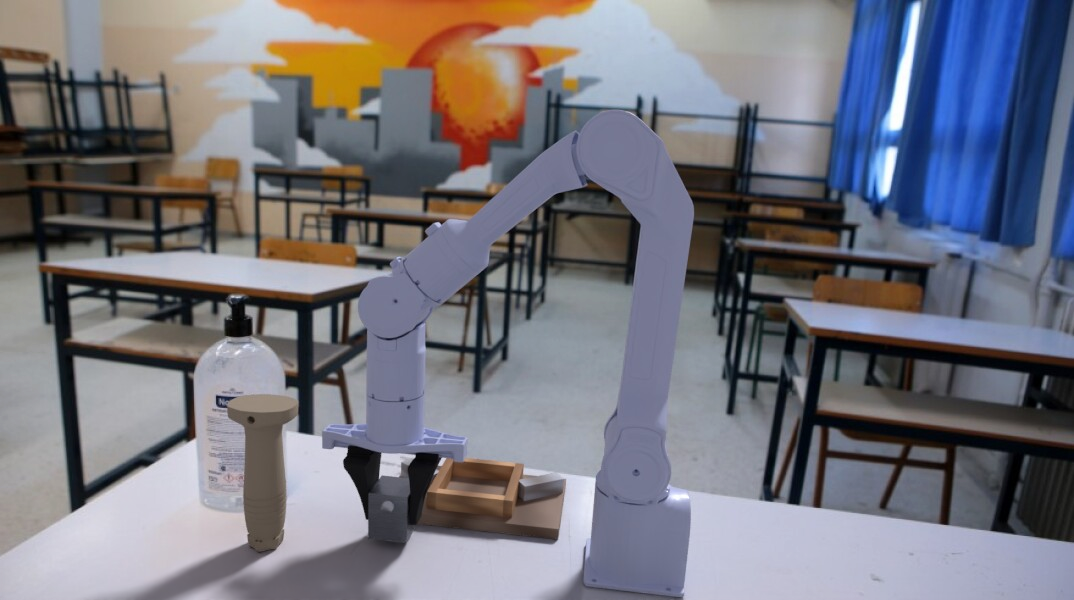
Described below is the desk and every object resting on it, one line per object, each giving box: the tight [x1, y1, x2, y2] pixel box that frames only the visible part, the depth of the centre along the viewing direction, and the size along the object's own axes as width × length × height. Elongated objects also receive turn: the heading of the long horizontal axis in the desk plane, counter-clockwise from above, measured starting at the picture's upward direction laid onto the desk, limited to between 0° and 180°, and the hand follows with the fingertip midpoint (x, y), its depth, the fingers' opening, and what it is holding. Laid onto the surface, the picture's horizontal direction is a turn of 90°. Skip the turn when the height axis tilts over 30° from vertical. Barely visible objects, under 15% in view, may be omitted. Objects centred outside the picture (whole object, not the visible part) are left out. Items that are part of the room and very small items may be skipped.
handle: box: [226, 393, 299, 553], centre depth 67 cm, size 5×6×15 cm
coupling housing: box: [398, 457, 567, 540], centre depth 79 cm, size 20×12×3 cm, turn 84°
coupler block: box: [367, 475, 417, 544], centre depth 70 cm, size 4×5×5 cm
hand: (393, 517), depth 70 cm, fingers closed on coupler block, 4 cm apart
